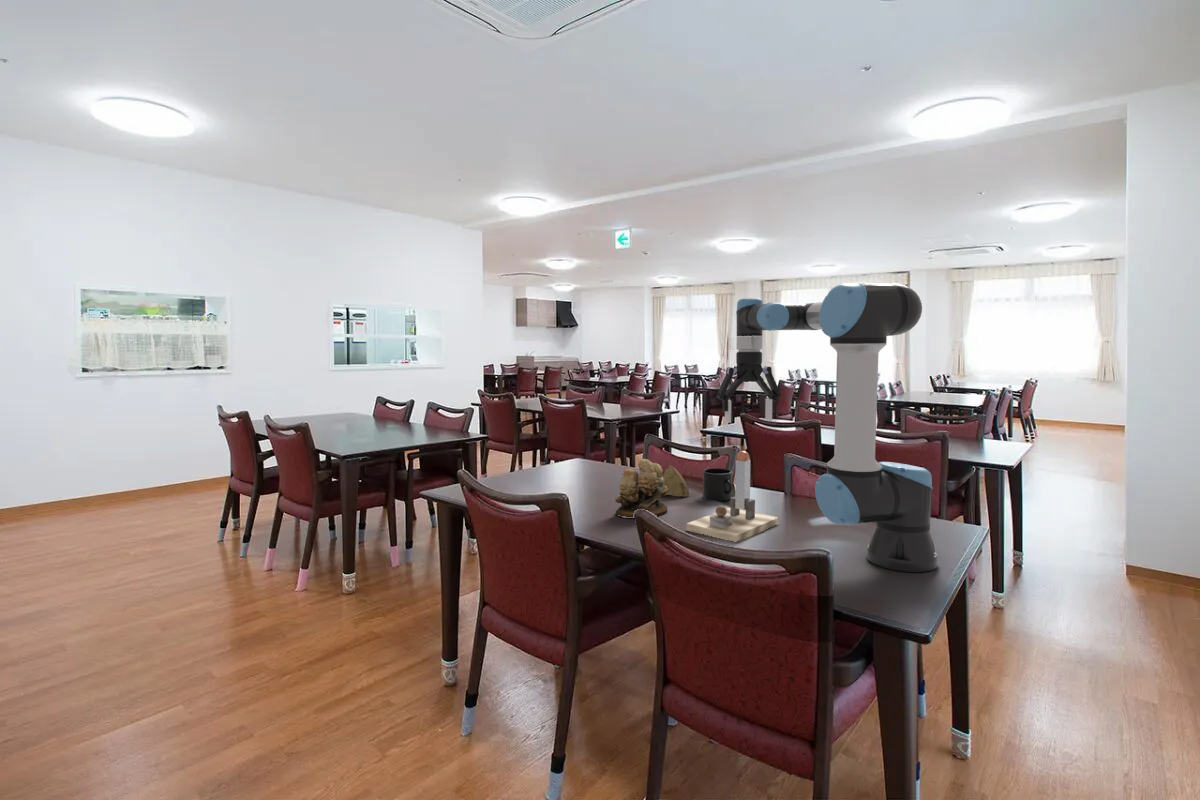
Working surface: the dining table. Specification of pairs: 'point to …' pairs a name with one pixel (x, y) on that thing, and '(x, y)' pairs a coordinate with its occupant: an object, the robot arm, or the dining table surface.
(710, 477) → the mug
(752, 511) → the tan bracket base plate
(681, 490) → the rock
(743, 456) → the lever
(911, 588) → the dining table surface
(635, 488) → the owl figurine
